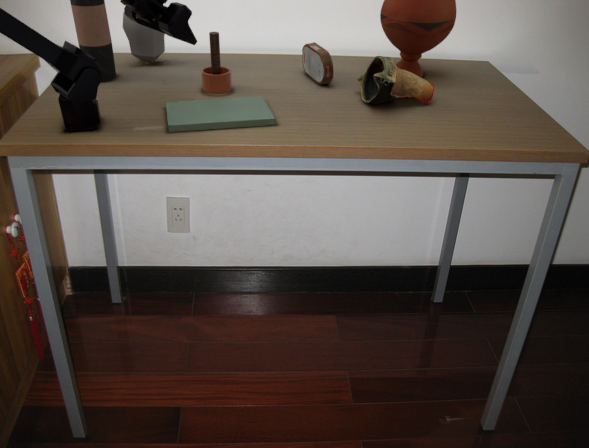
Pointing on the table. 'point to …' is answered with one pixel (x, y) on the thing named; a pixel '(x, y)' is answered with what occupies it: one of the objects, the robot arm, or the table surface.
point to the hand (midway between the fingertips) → (183, 38)
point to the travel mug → (94, 34)
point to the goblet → (416, 27)
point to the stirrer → (215, 53)
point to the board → (218, 114)
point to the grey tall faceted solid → (143, 40)
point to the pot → (392, 83)
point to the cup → (216, 80)
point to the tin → (317, 63)
